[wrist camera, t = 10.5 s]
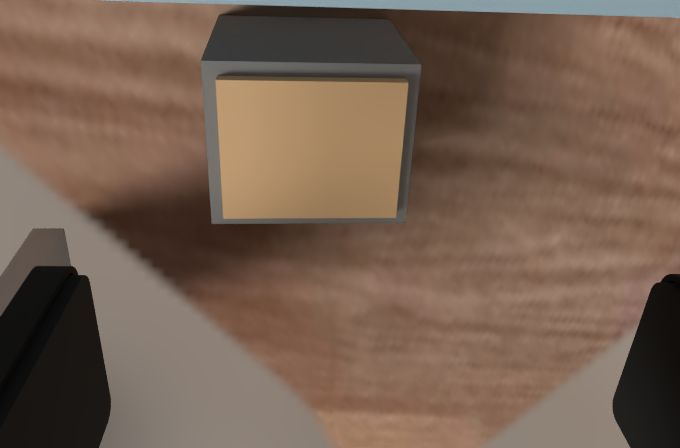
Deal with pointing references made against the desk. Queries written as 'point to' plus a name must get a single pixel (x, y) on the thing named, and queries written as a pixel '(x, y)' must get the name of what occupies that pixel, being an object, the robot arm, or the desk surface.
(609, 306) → the desk surface
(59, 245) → the wall frame
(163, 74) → the desk surface
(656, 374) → the robot arm
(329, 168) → the doorstop
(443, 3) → the door
